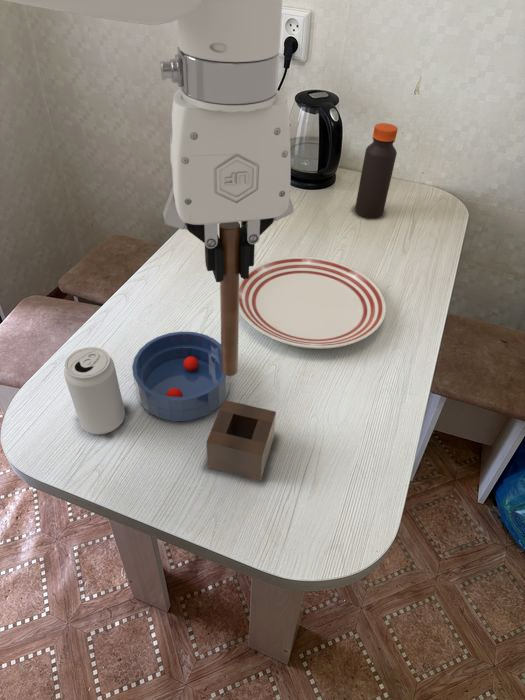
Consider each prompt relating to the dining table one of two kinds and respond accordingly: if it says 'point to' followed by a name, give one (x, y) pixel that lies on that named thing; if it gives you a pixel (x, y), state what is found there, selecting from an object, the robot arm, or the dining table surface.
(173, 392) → the tomato
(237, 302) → the stirring stick
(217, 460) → the holder
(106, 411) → the beverage can
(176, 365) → the bowl
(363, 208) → the bottle
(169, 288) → the dining table surface
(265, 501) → the dining table surface
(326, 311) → the dinner plate
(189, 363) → the tomato
